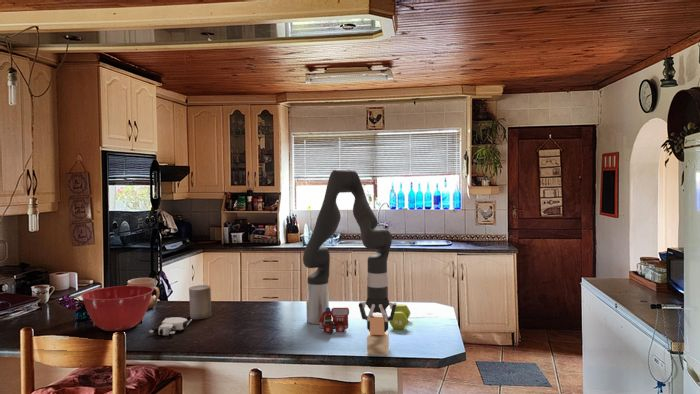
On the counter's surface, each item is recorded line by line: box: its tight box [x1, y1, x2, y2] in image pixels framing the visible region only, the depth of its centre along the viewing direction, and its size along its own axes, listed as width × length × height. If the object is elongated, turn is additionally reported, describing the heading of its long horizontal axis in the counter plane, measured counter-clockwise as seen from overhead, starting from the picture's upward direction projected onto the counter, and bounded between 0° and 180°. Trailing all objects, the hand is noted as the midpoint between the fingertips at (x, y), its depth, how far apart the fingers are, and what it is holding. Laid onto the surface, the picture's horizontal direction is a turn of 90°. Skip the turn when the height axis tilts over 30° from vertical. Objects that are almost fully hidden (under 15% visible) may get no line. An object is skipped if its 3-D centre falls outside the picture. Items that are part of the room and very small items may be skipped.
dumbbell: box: [388, 303, 411, 331], centre depth 230 cm, size 16×8×7 cm, turn 168°
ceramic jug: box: [125, 277, 160, 310], centre depth 262 cm, size 18×14×14 cm
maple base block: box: [366, 331, 390, 356], centre depth 193 cm, size 7×7×6 cm
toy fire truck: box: [318, 307, 350, 335], centre depth 221 cm, size 7×12×10 cm, turn 86°
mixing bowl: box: [80, 285, 154, 332], centre depth 232 cm, size 28×28×15 cm
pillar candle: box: [188, 284, 213, 320], centre depth 246 cm, size 10×10×15 cm
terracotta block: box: [369, 313, 385, 335], centre depth 193 cm, size 5×5×6 cm
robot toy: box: [148, 316, 193, 336], centre depth 223 cm, size 12×4×15 cm
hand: (377, 330), depth 193 cm, fingers closed on terracotta block, 5 cm apart
